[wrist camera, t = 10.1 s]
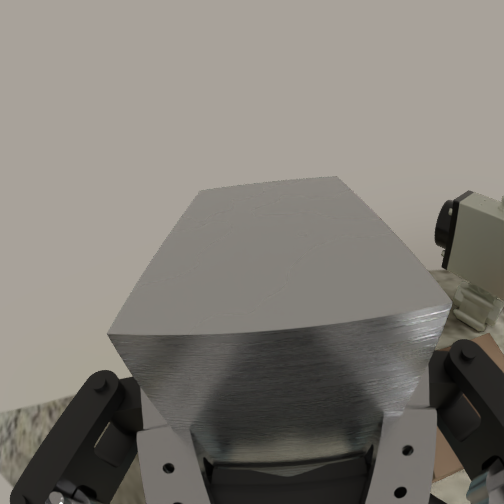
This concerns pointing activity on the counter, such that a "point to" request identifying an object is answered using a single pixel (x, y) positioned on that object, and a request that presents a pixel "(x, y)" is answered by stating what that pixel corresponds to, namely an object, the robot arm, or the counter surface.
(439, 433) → the stand
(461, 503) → the counter surface
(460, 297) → the pneumatic valve
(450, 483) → the counter surface
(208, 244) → the block
